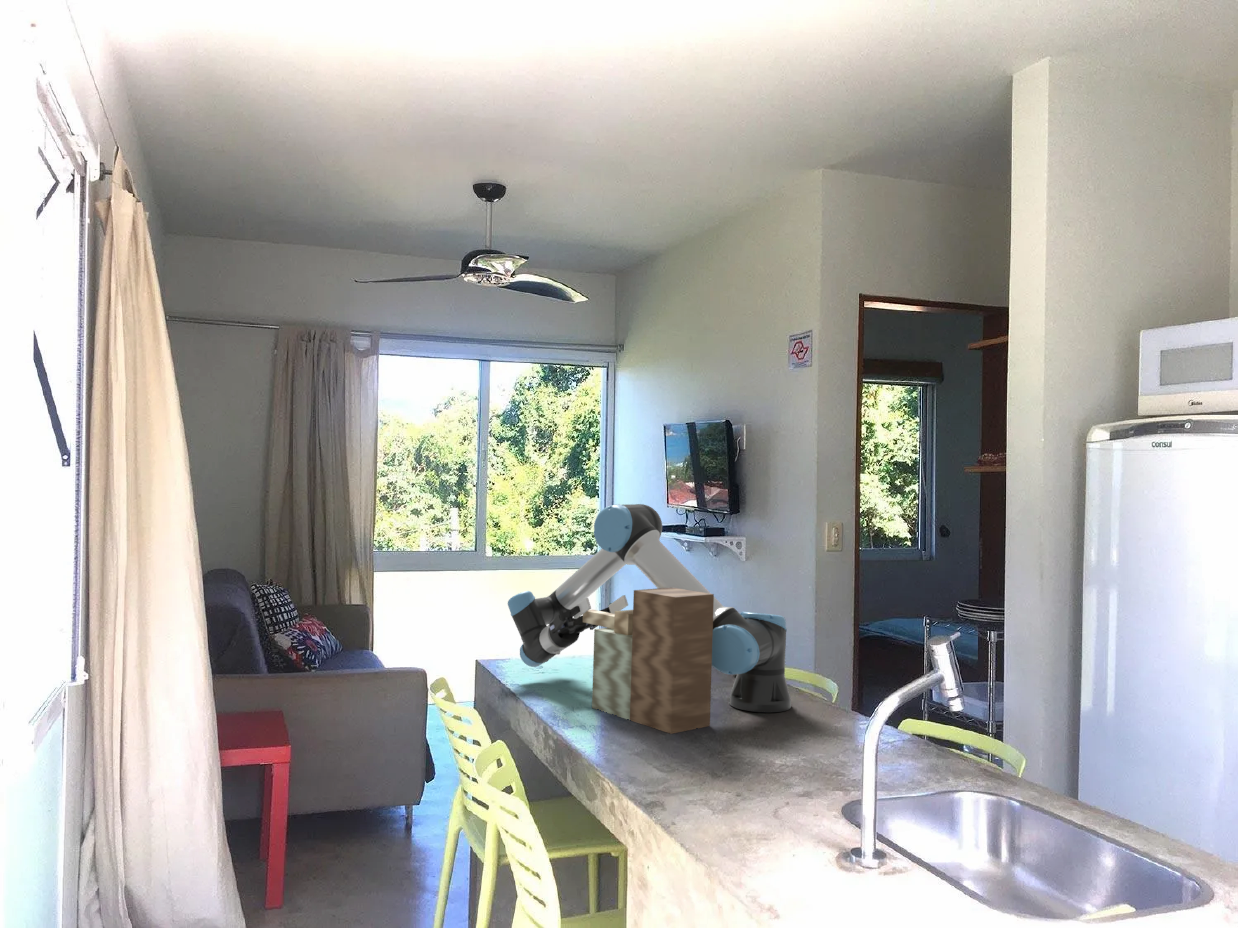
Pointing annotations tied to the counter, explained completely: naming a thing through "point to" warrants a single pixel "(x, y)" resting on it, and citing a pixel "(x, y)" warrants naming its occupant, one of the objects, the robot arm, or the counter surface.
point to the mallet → (611, 620)
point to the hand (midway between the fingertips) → (607, 601)
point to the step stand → (658, 662)
